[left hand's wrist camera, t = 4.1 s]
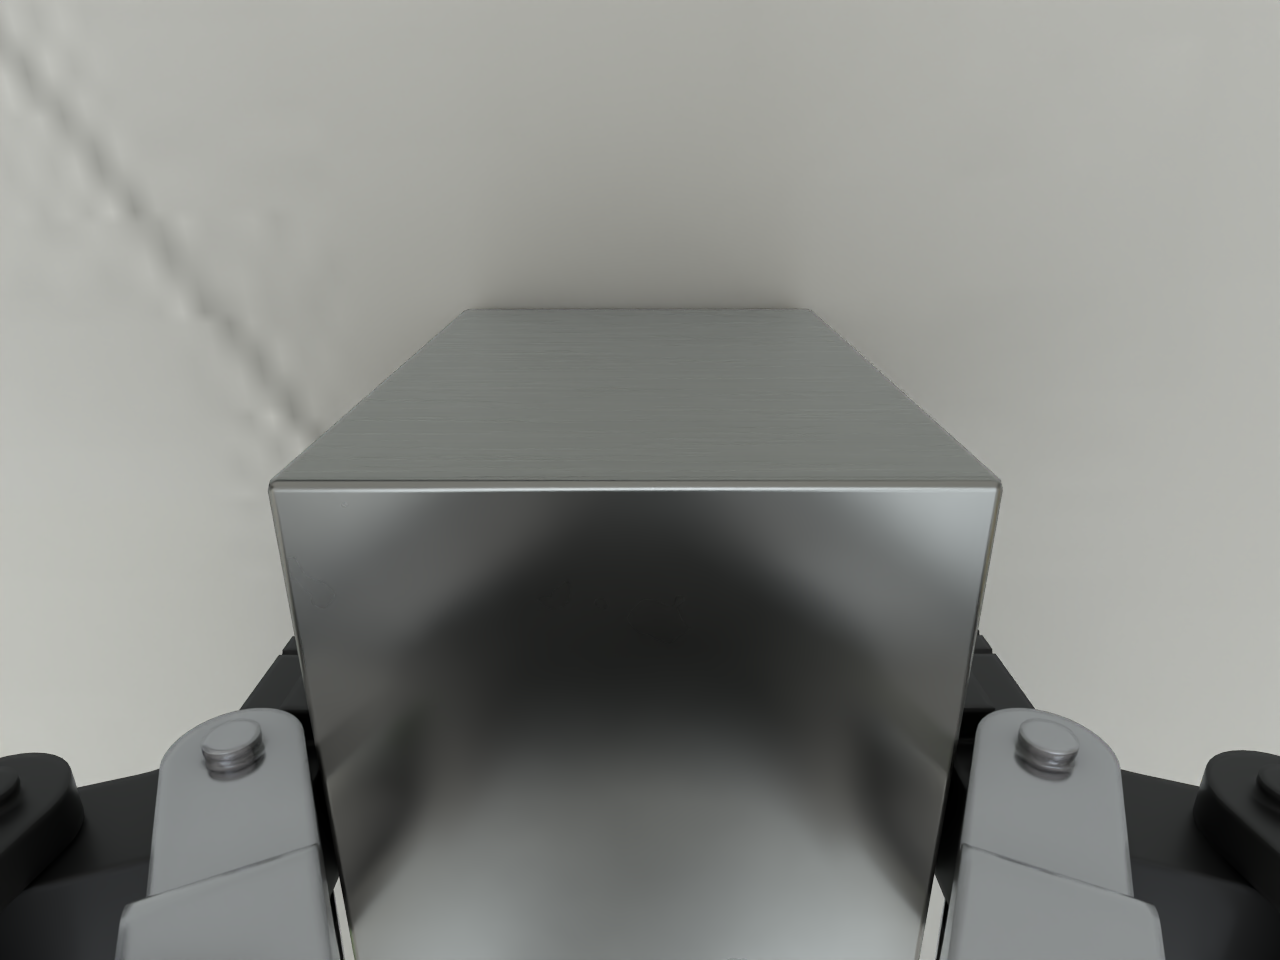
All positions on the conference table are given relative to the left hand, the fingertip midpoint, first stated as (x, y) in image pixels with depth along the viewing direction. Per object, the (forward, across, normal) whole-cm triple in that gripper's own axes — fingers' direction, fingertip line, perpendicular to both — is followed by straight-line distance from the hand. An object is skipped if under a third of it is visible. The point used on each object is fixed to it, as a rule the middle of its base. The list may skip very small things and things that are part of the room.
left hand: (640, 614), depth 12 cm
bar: (+4, 0, -8) cm, 9 cm away
